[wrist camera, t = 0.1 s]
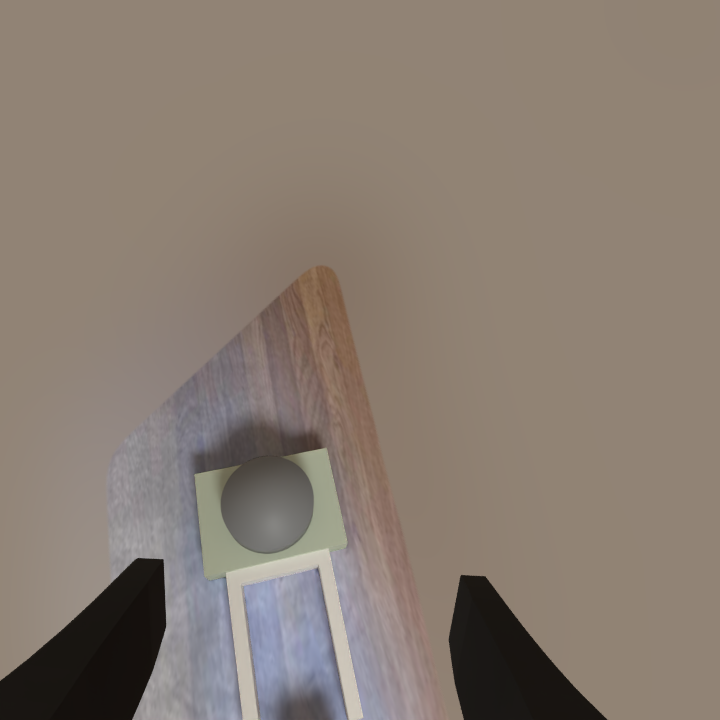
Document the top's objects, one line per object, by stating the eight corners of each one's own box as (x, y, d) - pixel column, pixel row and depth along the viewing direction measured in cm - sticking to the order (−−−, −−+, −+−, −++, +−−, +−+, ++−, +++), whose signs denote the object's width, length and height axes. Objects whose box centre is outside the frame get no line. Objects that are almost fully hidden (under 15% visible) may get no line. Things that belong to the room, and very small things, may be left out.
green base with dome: (380, 709, 39) (390, 716, 34) (227, 755, 37) (217, 768, 32) (325, 457, 48) (327, 437, 43) (199, 482, 46) (188, 464, 41)
